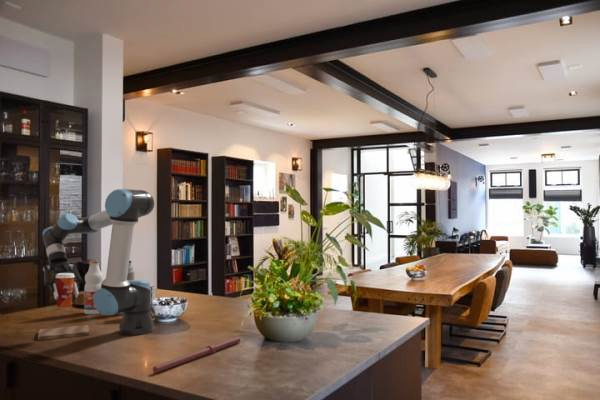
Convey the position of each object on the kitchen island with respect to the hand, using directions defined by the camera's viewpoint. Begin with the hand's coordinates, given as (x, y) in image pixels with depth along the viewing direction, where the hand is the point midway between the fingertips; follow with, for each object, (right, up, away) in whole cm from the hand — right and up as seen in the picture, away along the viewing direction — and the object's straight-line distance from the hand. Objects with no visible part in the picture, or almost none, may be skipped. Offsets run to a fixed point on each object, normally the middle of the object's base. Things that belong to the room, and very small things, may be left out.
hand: (67, 296), depth 206 cm
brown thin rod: (+63, -18, -26) cm, 71 cm away
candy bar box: (+20, -19, +41) cm, 49 cm away
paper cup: (-2, -5, +2) cm, 6 cm away
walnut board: (-5, -18, +7) cm, 20 cm away
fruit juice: (-11, -19, +51) cm, 56 cm away
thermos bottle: (+7, -19, +50) cm, 54 cm away
